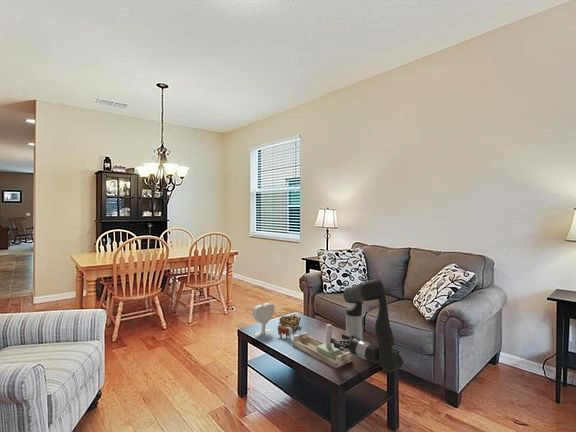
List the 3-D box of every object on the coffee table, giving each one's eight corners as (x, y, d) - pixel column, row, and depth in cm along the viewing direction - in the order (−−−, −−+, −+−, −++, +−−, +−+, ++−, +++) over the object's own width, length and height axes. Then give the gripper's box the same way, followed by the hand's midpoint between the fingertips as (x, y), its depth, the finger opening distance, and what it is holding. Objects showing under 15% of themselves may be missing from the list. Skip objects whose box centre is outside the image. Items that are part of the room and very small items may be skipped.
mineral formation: (277, 326, 217) (293, 320, 226) (289, 335, 207) (306, 328, 216) (277, 315, 215) (294, 309, 225) (290, 324, 205) (307, 317, 214)
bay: (307, 341, 192) (307, 331, 192) (351, 363, 166) (351, 351, 166) (292, 346, 185) (292, 336, 184) (335, 370, 158) (335, 358, 158)
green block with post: (327, 351, 177) (328, 320, 176) (341, 357, 169) (341, 326, 168) (316, 355, 171) (316, 324, 171) (330, 362, 163) (330, 329, 163)
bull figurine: (290, 343, 189) (290, 329, 189) (276, 336, 199) (276, 323, 199) (295, 341, 192) (295, 328, 192) (281, 334, 202) (281, 321, 202)
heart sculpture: (256, 336, 199) (256, 307, 198) (251, 334, 202) (251, 305, 202) (275, 330, 209) (275, 303, 209) (270, 328, 213) (270, 301, 212)
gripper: (370, 337, 157) (345, 327, 170) (351, 344, 148) (327, 333, 161) (370, 352, 157) (345, 341, 170) (351, 360, 148) (326, 348, 161)
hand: (336, 337), depth 165 cm, fingers open, 8 cm apart
